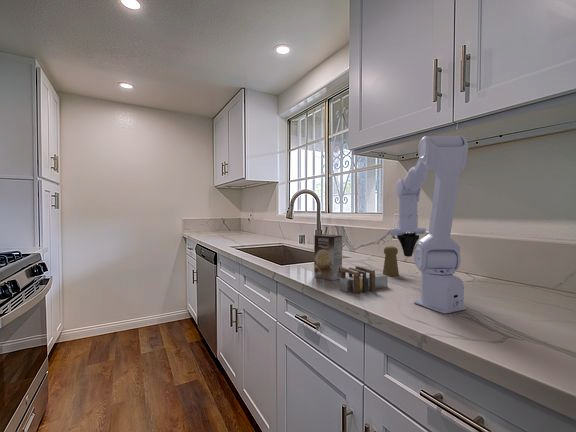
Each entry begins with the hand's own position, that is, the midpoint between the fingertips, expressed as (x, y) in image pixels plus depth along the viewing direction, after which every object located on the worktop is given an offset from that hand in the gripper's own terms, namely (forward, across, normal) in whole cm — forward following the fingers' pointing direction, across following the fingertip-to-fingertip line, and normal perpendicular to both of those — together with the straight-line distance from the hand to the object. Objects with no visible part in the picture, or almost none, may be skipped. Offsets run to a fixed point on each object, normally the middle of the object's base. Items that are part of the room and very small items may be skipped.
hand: (408, 256), depth 98 cm
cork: (+10, -7, -15) cm, 19 cm away
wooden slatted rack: (+10, +18, -3) cm, 21 cm away
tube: (+10, +16, -3) cm, 19 cm away
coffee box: (+10, +18, -21) cm, 30 cm away
